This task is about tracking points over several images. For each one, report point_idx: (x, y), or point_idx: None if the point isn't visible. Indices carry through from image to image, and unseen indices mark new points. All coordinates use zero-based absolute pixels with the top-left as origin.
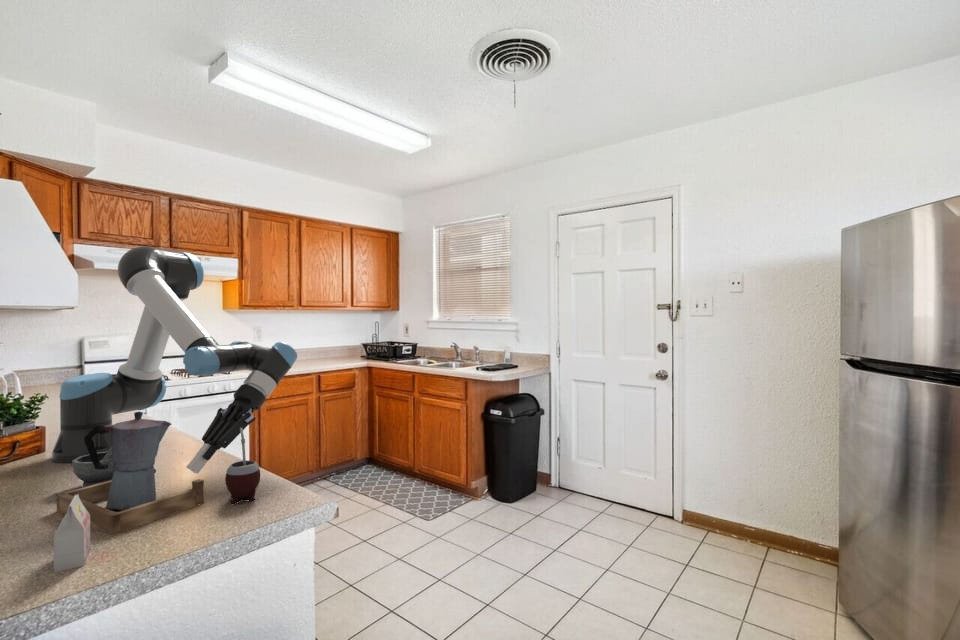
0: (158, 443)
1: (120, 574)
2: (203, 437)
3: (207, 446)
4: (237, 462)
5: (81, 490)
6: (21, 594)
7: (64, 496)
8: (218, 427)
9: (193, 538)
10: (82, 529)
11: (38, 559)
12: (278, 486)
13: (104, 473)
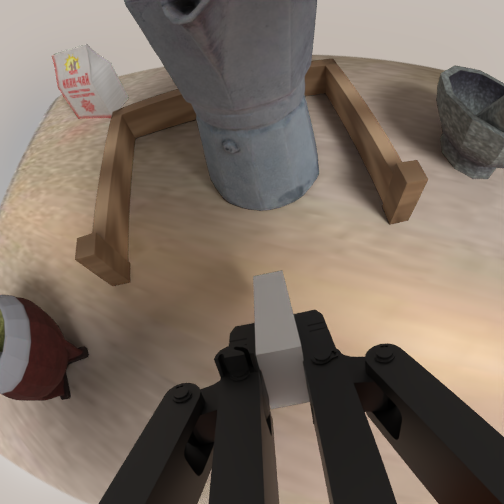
0: (201, 71)
1: (31, 147)
2: (384, 352)
3: (257, 347)
4: (5, 340)
5: (335, 80)
6: None
7: None
8: (333, 470)
9: (17, 218)
10: (58, 85)
11: (140, 83)
12: (71, 472)
13: (440, 120)
